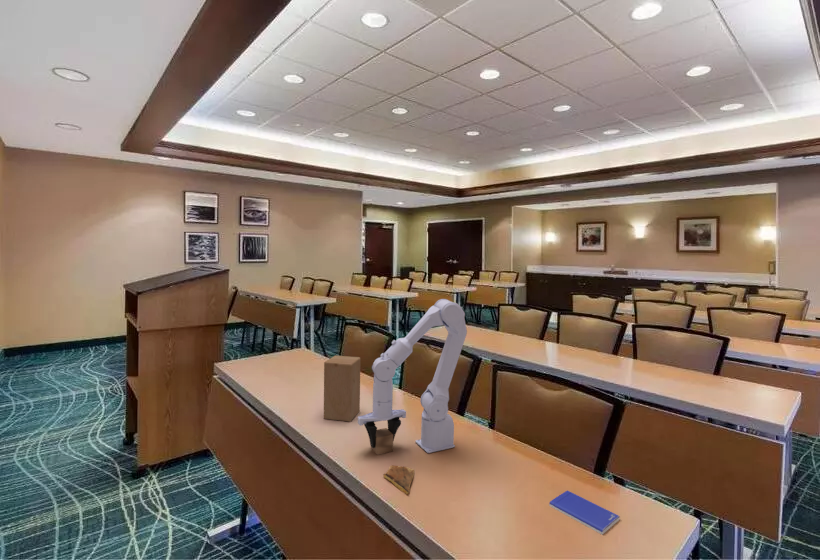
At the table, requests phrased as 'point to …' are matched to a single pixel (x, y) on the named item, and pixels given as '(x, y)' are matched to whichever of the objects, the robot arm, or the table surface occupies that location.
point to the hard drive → (584, 512)
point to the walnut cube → (383, 441)
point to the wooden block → (341, 388)
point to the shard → (400, 477)
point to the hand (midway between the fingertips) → (381, 444)
